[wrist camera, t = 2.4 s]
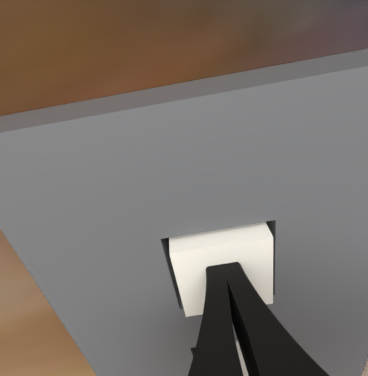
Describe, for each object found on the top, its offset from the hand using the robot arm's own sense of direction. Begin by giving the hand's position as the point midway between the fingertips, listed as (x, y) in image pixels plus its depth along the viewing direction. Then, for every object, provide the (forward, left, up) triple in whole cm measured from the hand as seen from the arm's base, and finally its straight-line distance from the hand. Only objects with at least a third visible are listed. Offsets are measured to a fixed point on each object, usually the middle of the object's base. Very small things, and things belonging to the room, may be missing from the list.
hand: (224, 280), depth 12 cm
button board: (0, +8, -3) cm, 9 cm away
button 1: (0, 0, -3) cm, 3 cm away
